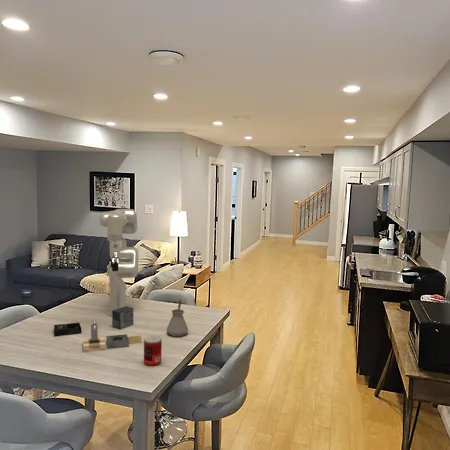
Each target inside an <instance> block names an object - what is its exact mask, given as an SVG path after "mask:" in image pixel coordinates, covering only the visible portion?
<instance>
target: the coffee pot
mask: <svg viewBox="0 0 450 450" xmlns="http://www.w3.org/2000/svg"><path fill="white" fill-rule="evenodd" d="M182 303H183V300H182V299H179V301H178V304H177V305H178V306H177V307H178V308H177V309H173V310H171V313H172V316H171V318H170V320H169V322H168V325H167V327H166V332H167V334H169V335H170V336H172V337H176V338H177V337H183V336H184V335H186V334H187V333H188V331H189V328H188V324H187V323H186V320H185V318H184V314H185V310H183V309H181V305H182Z"/></svg>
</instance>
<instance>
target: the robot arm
mask: <svg viewBox="0 0 450 450" xmlns="http://www.w3.org/2000/svg"><path fill="white" fill-rule="evenodd" d="M137 215H138V214H137V212H136V210H134V209H133V208H132V209H131V208H116V209H115V210H110V211H103V212H101V214H100V216H99V224H100V226H101V227H103V228H107V233H106V234H107V241H109V256H110V263H108V264H109V265H108V266H107V272H108V279H109V294H108V295H109V301H108V302H109V305H108V307H109V309H108V310H107V311H106V315H107V316H109V317H112V311H113V310H116V309H119V308H122V307H125V306H126V305H127V303H126V299H127V298H126V297H127V296H126V295H127V294H126V293H127V284H126V282H125V281H124V280H123V279H125V278H127V279H130V278H131V279H132V278H136V277H137V276H138V274H139V250H138V248H136V247H133V246H127V243H128V242H127V240H126V239H125V238H124V236H123V234H127V235H128V234H129V235H130V234H131V235H132V234H133V235H134V234H136V233H137V231H138V217H137Z"/></svg>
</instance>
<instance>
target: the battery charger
mask: <svg viewBox="0 0 450 450" xmlns="http://www.w3.org/2000/svg"><path fill="white" fill-rule="evenodd" d="M53 333H54V337H63V336H71V335H81V334H82V327H81V324H80V322H70V323H61V324H60V323H58V324H53Z"/></svg>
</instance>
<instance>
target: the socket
mask: <svg viewBox="0 0 450 450" xmlns="http://www.w3.org/2000/svg"><path fill="white" fill-rule="evenodd" d="M128 337H129V336H128V334H118V335H117V334H116V335H106V338H105V343H106V347H107V350H110V349H111V350H112V349H123V348H129V347H130V344H129V340H128Z"/></svg>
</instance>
